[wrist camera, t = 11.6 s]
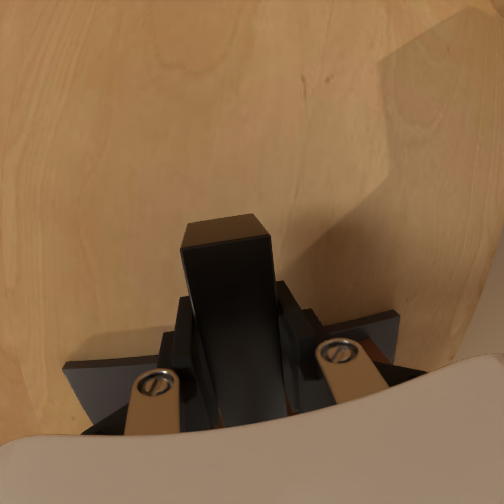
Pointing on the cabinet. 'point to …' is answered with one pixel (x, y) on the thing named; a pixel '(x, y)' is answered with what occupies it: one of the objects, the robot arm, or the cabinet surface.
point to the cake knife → (237, 315)
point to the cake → (128, 369)
